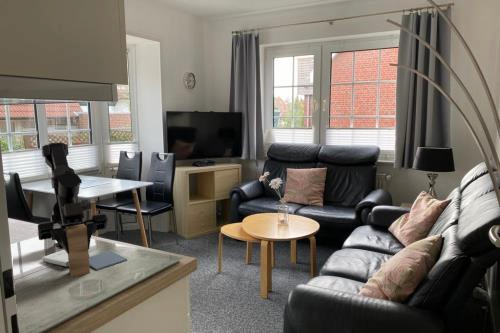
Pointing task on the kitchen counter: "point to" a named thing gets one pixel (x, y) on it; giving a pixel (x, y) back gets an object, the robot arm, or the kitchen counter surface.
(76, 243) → the walnut block
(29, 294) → the kitchen counter surface
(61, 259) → the external hard drive
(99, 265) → the rubber mat
